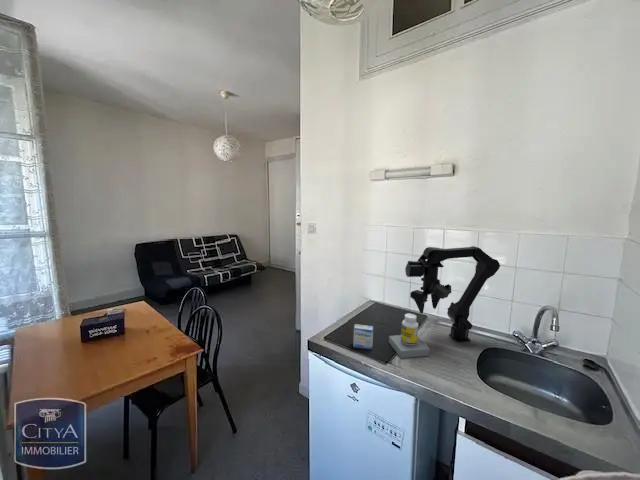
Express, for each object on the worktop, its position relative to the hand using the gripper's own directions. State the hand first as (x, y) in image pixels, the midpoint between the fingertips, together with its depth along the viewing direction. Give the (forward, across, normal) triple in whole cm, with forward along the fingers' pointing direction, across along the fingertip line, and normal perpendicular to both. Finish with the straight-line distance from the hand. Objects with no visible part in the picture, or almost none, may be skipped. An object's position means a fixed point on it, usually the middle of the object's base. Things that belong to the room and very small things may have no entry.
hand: (428, 310), depth 123 cm
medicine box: (+13, -28, +11) cm, 33 cm away
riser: (+13, -14, -1) cm, 19 cm away
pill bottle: (+10, -14, -1) cm, 17 cm away
